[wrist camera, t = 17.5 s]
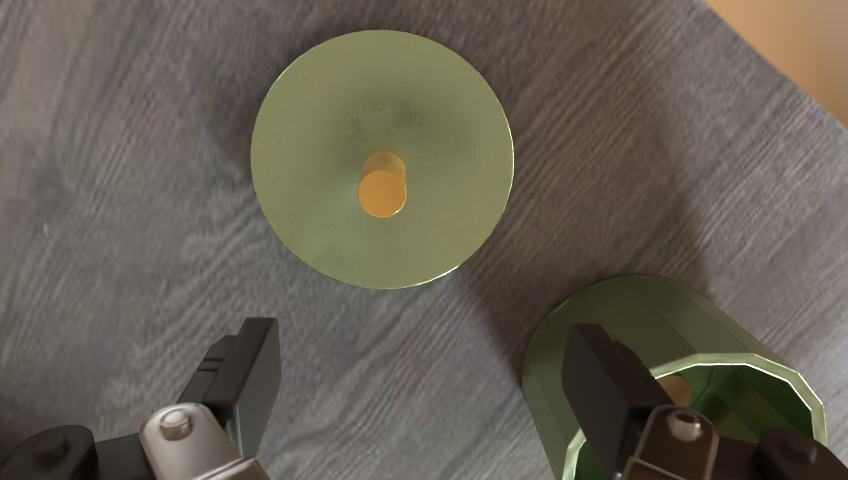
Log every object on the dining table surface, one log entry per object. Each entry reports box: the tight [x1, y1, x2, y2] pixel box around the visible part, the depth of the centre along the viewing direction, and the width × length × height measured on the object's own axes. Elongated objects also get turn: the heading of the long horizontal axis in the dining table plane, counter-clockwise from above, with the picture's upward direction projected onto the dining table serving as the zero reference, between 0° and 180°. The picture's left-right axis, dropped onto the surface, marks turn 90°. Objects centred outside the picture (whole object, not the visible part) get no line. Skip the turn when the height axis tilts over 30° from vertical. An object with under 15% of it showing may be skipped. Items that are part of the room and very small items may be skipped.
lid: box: [250, 29, 514, 289], centre depth 28 cm, size 15×15×6 cm
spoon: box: [656, 371, 692, 407], centre depth 35 cm, size 10×4×3 cm, turn 58°
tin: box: [522, 274, 827, 480], centre depth 32 cm, size 14×14×10 cm
